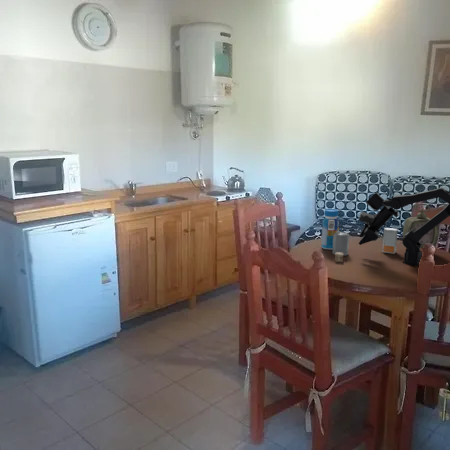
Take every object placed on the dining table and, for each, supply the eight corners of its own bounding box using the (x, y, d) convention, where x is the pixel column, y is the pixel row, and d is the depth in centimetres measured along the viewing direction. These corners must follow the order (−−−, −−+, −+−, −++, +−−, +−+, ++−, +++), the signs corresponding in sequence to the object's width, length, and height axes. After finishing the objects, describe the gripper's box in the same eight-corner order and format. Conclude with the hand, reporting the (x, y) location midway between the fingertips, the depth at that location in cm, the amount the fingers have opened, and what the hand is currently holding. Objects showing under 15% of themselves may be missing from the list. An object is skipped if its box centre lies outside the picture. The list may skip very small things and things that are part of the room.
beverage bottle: (317, 247, 240) (319, 209, 236) (327, 244, 245) (329, 207, 241) (331, 250, 234) (333, 212, 230) (341, 248, 239) (343, 210, 235)
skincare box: (381, 252, 231) (383, 229, 229) (383, 250, 235) (385, 227, 233) (394, 254, 229) (396, 230, 226) (395, 252, 232) (397, 228, 230)
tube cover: (350, 255, 226) (351, 235, 224) (337, 256, 225) (338, 236, 222) (343, 251, 233) (344, 232, 231) (330, 252, 231) (331, 232, 229)
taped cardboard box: (334, 259, 219) (335, 251, 218) (342, 260, 218) (343, 252, 217) (334, 261, 215) (335, 253, 214) (342, 262, 214) (343, 254, 214)
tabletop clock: (407, 255, 226) (411, 205, 221) (399, 250, 235) (404, 201, 230) (436, 255, 227) (441, 205, 222) (427, 250, 236) (432, 201, 231)
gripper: (368, 200, 224) (347, 223, 231) (368, 213, 207) (345, 237, 214) (386, 214, 224) (364, 236, 231) (388, 228, 207) (364, 252, 214)
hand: (359, 240), depth 223 cm, fingers open, 9 cm apart
